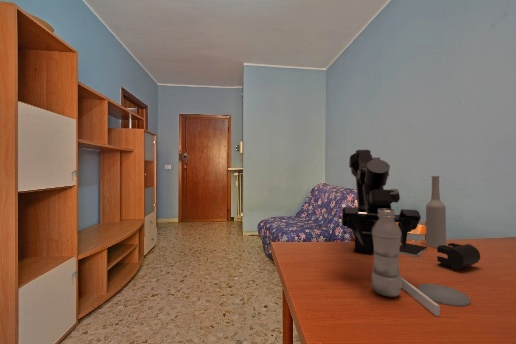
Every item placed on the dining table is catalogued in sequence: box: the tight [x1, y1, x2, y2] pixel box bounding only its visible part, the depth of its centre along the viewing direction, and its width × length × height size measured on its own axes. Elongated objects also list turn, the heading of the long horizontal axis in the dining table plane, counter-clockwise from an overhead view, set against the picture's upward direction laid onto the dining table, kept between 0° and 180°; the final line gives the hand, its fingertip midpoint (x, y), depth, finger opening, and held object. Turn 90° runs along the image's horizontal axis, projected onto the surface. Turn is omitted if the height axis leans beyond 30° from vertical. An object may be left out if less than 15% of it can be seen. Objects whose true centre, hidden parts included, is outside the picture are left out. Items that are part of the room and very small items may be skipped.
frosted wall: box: [400, 275, 441, 317], centre depth 58 cm, size 18×1×2 cm, turn 178°
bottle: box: [425, 175, 447, 249], centre depth 99 cm, size 7×7×28 cm
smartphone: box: [399, 242, 428, 258], centre depth 93 cm, size 8×1×15 cm
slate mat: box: [416, 283, 472, 307], centre depth 58 cm, size 10×10×1 cm
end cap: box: [436, 242, 481, 271], centre depth 76 cm, size 10×7×7 cm
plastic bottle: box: [370, 208, 403, 298], centre depth 58 cm, size 6×7×20 cm
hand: (383, 246), depth 61 cm, fingers open, 9 cm apart
